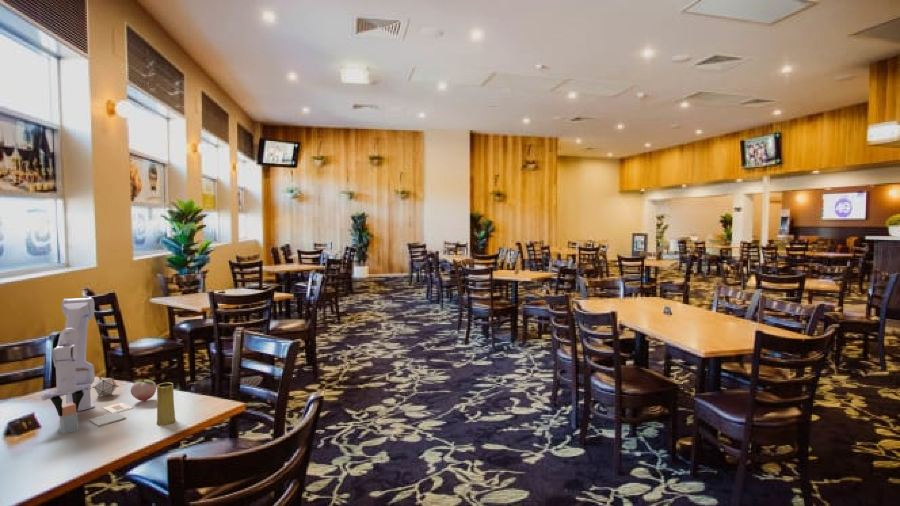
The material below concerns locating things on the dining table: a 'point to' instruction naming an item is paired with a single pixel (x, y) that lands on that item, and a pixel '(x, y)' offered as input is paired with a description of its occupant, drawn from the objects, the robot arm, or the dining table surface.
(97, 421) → the plate
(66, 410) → the brick terracotta
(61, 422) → the brick blue
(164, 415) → the vase
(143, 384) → the decorative fruit
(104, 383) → the game die
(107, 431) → the dining table surface
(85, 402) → the robot arm
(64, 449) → the dining table surface
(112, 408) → the card
